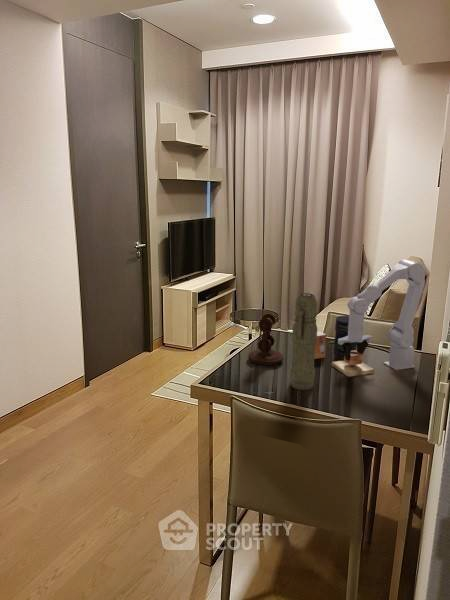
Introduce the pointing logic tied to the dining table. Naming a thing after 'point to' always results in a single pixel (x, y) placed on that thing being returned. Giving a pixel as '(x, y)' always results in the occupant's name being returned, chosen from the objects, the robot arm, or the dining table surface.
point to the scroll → (266, 344)
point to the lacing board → (352, 368)
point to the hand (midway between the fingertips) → (353, 359)
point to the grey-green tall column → (304, 342)
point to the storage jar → (342, 333)
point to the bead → (354, 358)
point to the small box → (320, 345)
